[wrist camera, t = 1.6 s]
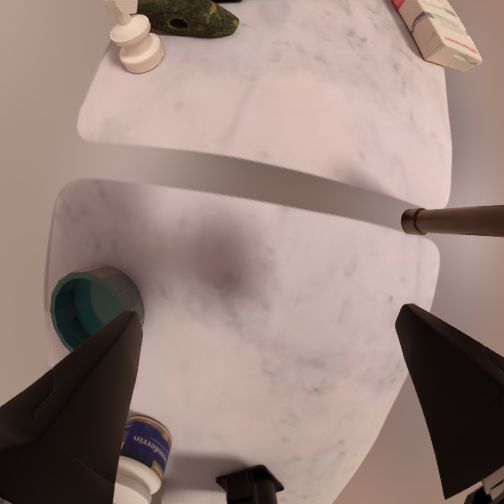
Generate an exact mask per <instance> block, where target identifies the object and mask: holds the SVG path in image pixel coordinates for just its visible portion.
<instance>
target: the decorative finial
mask: <svg viewBox="0 0 504 504" xmlns="http://www.w3.org/2000/svg"><path fill="white" fill-rule="evenodd" d="M103 1H104V3H105V6H106V7H107V9H108V10H109V11H110V12H111V13H114V14H115V15H116V17H117V19H118V22H117V23H116V25H115V26H114V27H113V29H112V30H111V33H110V37H111V39H112V41H113V42H114V44H115V45H117V46H121V49H120V52H119V57H120V60H121V61H122V63H123V64H124V66H125V67H126V69H127V70H128V71H130V72H132V73H143V72H146V71H149V70H151V69H152V68H154V67H155V66H157V65H158V64H159V63H160V62H161V60H162V59H163V57H164V48H163V45H162V43H161V40H160V38H159V36H157V35H156V34H154V33H149V31H150V27H151V26H150V23H149V20H148V18H147V17H146V16H144V15H140V14H138V15H129V14H134V13H136V12H137V3H138V0H103Z"/></svg>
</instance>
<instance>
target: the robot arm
mask: <svg viewBox="0 0 504 504" xmlns="http://www.w3.org/2000/svg"><path fill="white" fill-rule="evenodd" d="M395 328H396V332H397V335H398V338H399V342H400V345H401V348H402V352H403V356H404V359H405V362H406V365H407V368H408V371H409V373H410V376H411V378H412V381H413V384H414V387H415V390H416V393H417V395H418V399H419V402H420V404H421V408H422V411H423V414H424V417H425V420H426V424H427V427H428V430H429V434H430V437H431V441H432V445H433V448H434V452H435V457H436V461H437V465H438V469H439V474H440V479H441V483H442V489H443V493H444V498H445V500H446V499H448V498H450V497H452V496H454V495H456V494H458V493H460V492H462V491H464V490H466V489H468V488H469V487H471V486H473V485H474V484H476V483H478V482H480V481H481V482H482V486H480V487H479V488H478V489H476V490H475V491H473V492H472V493H470V494H469V495H467V497H466V500H465V503H464V504H504V357H502V356H501V355H499V354H497V353H496V352H494V351H492V350H491V349H489V348H488V347H486V346H485V347H484V345H482V344H481V343H479V342H478V341H476V340H474V339H472V338H471V337H469V336H468V335H466V334H465V333H463V332H461V331H460V330H458V329H456V328H455V327H452V326H451V325H449V324H448V323H446V322H444V321H442V320H441V319H439V318H437V317H436V316H434V315H432V314H431V313H429V312H427V311H425V310H424V309H422V308H420V307H419V306H417V305H415V304H412V303H411V304H404V305H403V306H402V307H401V310H400V312H399V315H398V317H397V320H396V323H395ZM142 338H143V330H142V326H141V323H140V319H139V316H138V313H137V312H136V311H132V310H125V311H123V312H122V313H120V314H119V315H118V316H116V317H115V318H114V319H113V320H111V321H110V322H109V323H107V324H106V325H105V326H104V327H102V328H101V329H100V330H99V331H97V332H96V333H95V334H93V335H92V336H91V337H90V338H88V339H87V340H86V341H85V342H83V343H82V344H81V345H80V346H79V347H77V348H76V349H75V350H74V351H72V352H71V353H70V354H69V355H67V356H66V357H65V358H64V359H63V360H61V361H60V362H59V363H58V364H56V365H55V366H54V367H53V368H52V369H50V370H49V371H48V372H47V373H45V374H44V375H43V376H42V377H41V378H39V379H38V380H37V381H36V382H34V383H33V384H32V385H30V386H29V387H28V388H26V389H25V390H24V391H22V392H21V393H19V394H18V395H16V396H15V397H14V398H12V399H11V400H9V401H8V402H7V403H5V404H4V405H2V406H1V407H0V504H113V499H114V491H115V483H116V476H117V469H118V463H119V457H120V452H121V446H122V441H123V436H124V431H125V426H126V421H127V416H128V412H129V407H130V403H131V399H132V394H133V390H134V386H135V382H136V378H137V372H138V365H139V358H140V351H141V344H142ZM216 483H217V484H218V485H220V486H221V487H222V488H223V489H224V490H225V491H226V500H227V504H278V503H277V497H276V492H279V491H282V490H284V486H283V485H282V484H281V483H280V482H279V481H278V480H277V479H276V478H275V477H274V476H273V474H272V473H271V472H270V471H269V470H268V469H267V468H266V467H265V466H258V467H255V468H252V469H248V470H245V471H241V472H238V473H234V474H230V475H226V476H222V477H218V478H216Z"/></svg>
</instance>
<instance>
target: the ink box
mask: <svg viewBox="0 0 504 504" xmlns="http://www.w3.org/2000/svg"><path fill="white" fill-rule="evenodd" d="M391 1H392V2H393V4H394V5H395V7H396V8H397V10H398V11H399V13H400V15H401V16H402V18H403V20H404V21H405V23H406V25H407V27H408V28H409V30H410V32H411V34H412V35H413V37H414V39H415V41H416V43H417V45H418V47H419V49H420V51H421V53H422V55H423V57H424V59H425V60H426V61H430V62H433V63H436V64H440V65H443V66H446V67H449V68H452V69H454V70H457V71H460V72H462V73H465V72H466V71H468V70H470V69H471V68H473V67H475V66H477V65H479V64H481V63H482V62H483V60H482V59H481V57H480V55H479V52H478V51H477V49H476V47H475V45H474V43H473V41H472V40H471V38H470V36H469V34H468V33H467V31H466V29H465V28H464V26H463V24H462V23H461V21H460V19H459V18H458V16H457V15H456V13H455V12H454V10H453V9H452V7H451V6H450V5H449V3H448V2H447V1H446V0H391Z"/></svg>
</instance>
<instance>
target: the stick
mask: <svg viewBox="0 0 504 504" xmlns="http://www.w3.org/2000/svg"><path fill="white" fill-rule="evenodd" d="M401 225H402V228H403V230H404V231H405V232H406V233H407V234H413V235H425V234H427V233H440V234H461V235H479V236H495V237H504V205H498V206H479V207H463V208H448V209H433V210H426V209H424V208H418V209H408V210H406V211H405V212H404V213H403V215H402V218H401Z"/></svg>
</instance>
